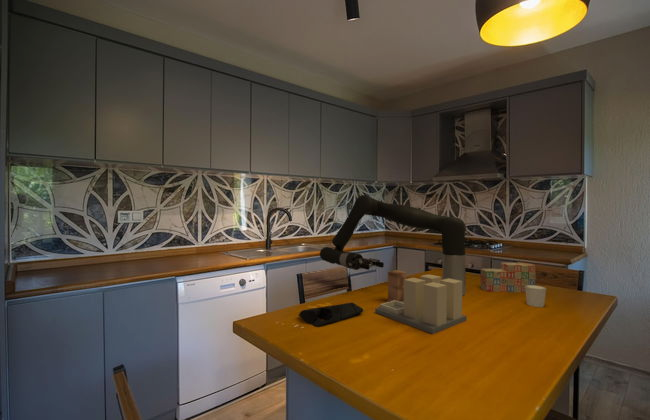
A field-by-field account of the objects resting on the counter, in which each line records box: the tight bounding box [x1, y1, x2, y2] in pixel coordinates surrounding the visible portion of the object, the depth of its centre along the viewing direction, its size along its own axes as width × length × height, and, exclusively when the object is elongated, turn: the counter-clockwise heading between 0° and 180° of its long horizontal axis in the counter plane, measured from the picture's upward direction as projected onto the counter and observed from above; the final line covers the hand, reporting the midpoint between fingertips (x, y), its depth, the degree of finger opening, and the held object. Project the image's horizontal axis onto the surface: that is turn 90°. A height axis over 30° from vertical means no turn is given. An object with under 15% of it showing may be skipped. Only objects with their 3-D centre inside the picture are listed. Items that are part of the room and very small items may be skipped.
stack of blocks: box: [480, 262, 537, 293], centre depth 147 cm, size 21×6×12 cm, turn 85°
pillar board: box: [374, 274, 467, 335], centre depth 112 cm, size 19×24×14 cm
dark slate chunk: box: [298, 302, 364, 328], centre depth 114 cm, size 15×22×5 cm
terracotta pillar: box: [387, 269, 407, 302], centre depth 129 cm, size 5×5×12 cm
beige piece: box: [525, 285, 547, 308], centre depth 125 cm, size 7×7×7 cm
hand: (376, 266), depth 138 cm, fingers open, 8 cm apart
